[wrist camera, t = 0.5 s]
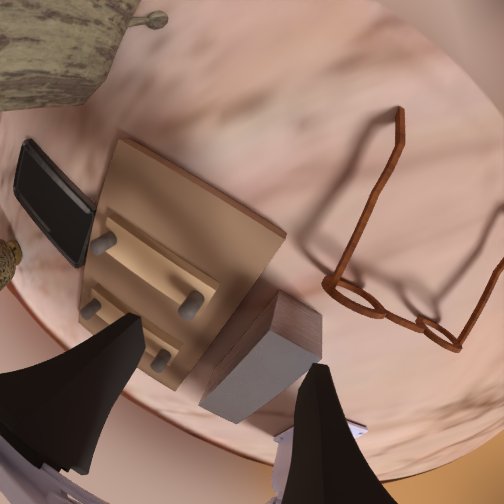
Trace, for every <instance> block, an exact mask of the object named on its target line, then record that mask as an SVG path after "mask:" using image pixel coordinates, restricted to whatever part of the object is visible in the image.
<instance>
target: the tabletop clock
mask: <svg viewBox="0 0 504 504" xmlns="http://www.w3.org/2000/svg"><path fill="white" fill-rule="evenodd" d="M140 1H141V0H0V112H3V111H11V110H21V109H31V108H43V107H62V106H77V105H83V104H84V103H85V102H86V100H87V99H88V98H89V97H90V96H91V95H92V94H93V93H94V92H95V91H96V90H97V89H98V88H99V87H100V85H101V84H102V83H103V82H104V81H105V80H106V78H107V76H108V73H109V70H110V67H111V64H112V62H113V59H114V57H115V54H116V52H117V49H118V47H119V44H120V42H121V40H122V37H123V35H124V33H125V31H126V28H127V27H131V26H136V25H142V24H147V25H148V27H149V28H152V29H155V30H156V29H160V28H163V27H164V26H165V25H166V24H167V22H168V16H167V14H166V13H164V12H162V11H156V12H153V13H151V14H150V15H149V16H148V17H132V16H133V14H134V12H135V10H136V8H137V6H138V4H139V2H140Z"/></svg>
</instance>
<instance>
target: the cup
mask: <svg viewBox="0 0 504 504" xmlns="http://www.w3.org/2000/svg"><path fill="white" fill-rule="evenodd" d="M21 261H22V253H21V250H20V247H19V245H18V244H17V243H16V242H15V241H13V240H10V241H8V243H7V242H5V241H4V240H2V239H0V291H1V290H2V289H3V288H4V287H5V286H6V285H7V284H8V283H9V282H10V281H11V279H12V278H13V276H14V274H15V270H16V266H17V265H19V264H20V263H21Z"/></svg>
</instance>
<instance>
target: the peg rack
mask: <svg viewBox="0 0 504 504" xmlns="http://www.w3.org/2000/svg"><path fill="white" fill-rule="evenodd" d="M286 235H287V233H285V232H284V231H282V230H281V229H279V228H277V227H276V226H274V225H273V224H271V223H270V222H268V221H266V220H265V219H263V218H262V217H260V216H259V215H257V214H255V213H254V212H252V211H251V210H249V209H247V208H246V207H244V206H243V205H241V204H239V203H238V202H236V201H234V200H233V199H231V198H230V197H228V196H226V195H225V194H223V193H221V192H220V191H218V190H217V189H215V188H213V187H212V186H210V185H208V184H207V183H205V182H203V181H202V180H200V179H198V178H197V177H195V176H193V175H192V174H190V173H188V172H186V171H185V170H183V169H181V168H180V167H178V166H176V165H174V164H173V163H171V162H169V161H168V160H166V159H164V158H162V157H161V156H159V155H157V154H155V153H154V152H152V151H150V150H148V149H147V148H145V147H143V146H141V145H140V144H138V143H136V142H134V141H132V140H131V139H129V138H125V139H119V140H118V143H117V145H116V148H115V151H114V154H113V157H112V160H111V163H110V166H109V169H108V172H107V175H106V178H105V182H104V185H103V188H102V192H101V195H100V199H99V203H98V207H97V211H96V215H95V219H94V223H93V227H92V232H91V237H90V241H89V246H88V252H87V257H86V263H85V269H84V276H83V283H82V291H81V299H80V309H79V321H78V322H79V323H80V324H81V325H82V326H83V327H85V328H86V329H87V330H88V331H89V332H91V333H92V334H93V335H95V334H97V333H98V332H100V331H101V330H103V329H104V328H106V327H107V326H109V325H110V324H112V323H113V322H115V321H116V320H118V319H119V318H121V317H122V316H124V315H125V314H127V313H128V312H130V313H133V314H136V315H138V316H141V320H142V326H143V333H144V339H145V345H146V349H145V351H144V353H143V355H142V358H141V360H140V362H139V364H138V366H137V368H139V369H140V370H142V371H143V372H145V373H146V374H148V375H149V376H151V377H152V378H154V379H155V380H157V381H158V382H160V383H162V384H163V385H165V386H167V387H168V388H170V389H171V390H173V391H176V390H177V388H178V387H179V386H180V384H181V383H182V382H183V380H184V379H185V378H186V376H187V375H188V374H189V372H190V371H191V370H192V368H193V367H194V366H195V364H196V363H197V362H198V360H199V359H200V357H201V356H202V355H203V353H204V352H205V351H206V349H207V348H208V347H209V345H210V344H211V343H212V341H213V340H214V339H215V337H216V336H217V334H218V333H219V332H220V330H221V329H222V328H223V326H224V325H225V323H226V322H227V321H228V319H229V318H230V317H231V315H232V314H233V312H234V311H235V310H236V308H237V307H238V305H239V304H240V303H241V301H242V300H243V299H244V297H245V296H246V294H247V293H248V292H249V290H250V289H251V287H252V286H253V285H254V283H255V282H256V280H257V279H258V278H259V276H260V275H261V273H262V272H263V270H264V269H265V268H266V266H267V265H268V263H269V262H270V261H271V259H272V258H273V256H274V255H275V253H276V252H277V251H278V249H279V248H280V246H281V245H282V243H283V242H284V241H285V238H286Z"/></svg>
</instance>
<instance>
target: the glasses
mask: <svg viewBox="0 0 504 504" xmlns="http://www.w3.org/2000/svg"><path fill="white" fill-rule="evenodd" d="M404 146H405V111H404V109H403V108H402V107H399V108H398V111H397V114H396V117H395V147H394V149H393V151H392V154H391V156H390V158H389V160H388V162H387V165H386V167H385V169H384V171H383V172H382V174H381V176H380V178H379V179H378V181H377V183H376V185H375V186H374V188H373V190H372V191H371V194H370V196H369V198H368V201H367V203H366V205H365V208H364V210H363V212H362V215H361V217H360V219H359V221H358V223H357V226H356V228H355V230H354V232H353V234H352V237H351V239H350V241H349V243H348V245H347V247H346V249H345V251H344V253H343V255H342V257H341V259H340V261H339V264H338V266H337V268H336V270H335V271H334V273H333V275H332V276H325V277H324V279H323V281H322V283H321V284H322V287H323V289H324V290H325V291H326V292H327V293H328V294H329V295H330V296H331V297H332V298H333V299H335V300H336V301H337V302H339V303H340V304H342V305H344V306H345V307H347V308H349V309H351V310H353V311H355V312H357V313H359V314H362V315H364V316H367V317H370V318H374V319H383V318H384V317H386V318H387V319H389V320H391V321H392V322H394V323H396V324H399V325H401V326H403V327H406V328H408V329H410V330H413V331H415V332H418V333H424V334H425V335H426V336H427V337H428V338H429V339H431V340H432V341H434V342H435V343H437V344H438V345H440V346H441V347H443V348H445V349H447V350H449V351H452V352H455V353H459V352H460V351H461V349H462V344H463V343H464V341H465V339H466V338H467V336H468V335H469V333H470V331H471V330H472V328H473V326H474V324H475V323H476V321H477V319H478V317H479V316H480V314H481V312H482V310H483V308H484V306H485V304H486V303H487V301H488V299H489V297H490V295H491V293H492V290H493V288H494V286H495V284H496V282H497V280H498V277H499V275H500V274H501V272H502V271H503V270H504V257H503V259H502V260H501V261H500V263H499V264H498V265H497V267H496V268H495V269H494V271H493V273H492V275H491V277H490V280H489V282H488V284H487V286H486V288H485V290H484V292H483V294H482V296H481V298H480V300H479V302H478V304H477V306H476V308H475V310H474V311H473V313H472V315H471V317H470V318H469V320H468V322H467V324H466V325H465V327H464V329H463V330H462V332H461V334H460V335H459V337H458V338H457V339H456V338H455V337H454V336H453V335H452V334H451V333H450V332H449V331H447V330H446V329H445V328H443V327H442V326H440V325H439V324H437V323H435V322H433V321H431V320H429V319H426V318H424V317H422V316H418V317H417V319H416V321H415V322H416V324H415V323H413V322H411V321H408V320H406V319H404V318H402V317H399V316H397V315H395V314H393V313H391V312H389V311H388V310H386V309H385V308H384V307H383V306H382V305H381V304H380V303H379V301H377V300H376V299H375V298H374V297H373V296H372V295H370V294H369V293H367V292H366V291H364V290H362V289H361V288H359V287H357V286H354V285H352V284H350V283H348V282H346V281H343V280H341V279H340V278H341V276H342V274H343V272H344V270H345V268H346V266H347V264H348V262H349V260H350V258H351V256H352V254H353V252H354V250H355V248H356V246H357V244H358V241H359V239H360V237H361V235H362V233H363V231H364V229H365V226H366V224H367V222H368V220H369V217H370V215H371V213H372V211H373V208H374V206H375V204H376V201H377V199H378V196H379V194H380V193H381V191H382V189H383V188H384V186H385V184H386V183H387V181H388V179H389V177H390V176H391V174H392V172H393V170H394V168H395V166H396V164H397V162H398V159H399V157H400V155H401V153H402V150H403V148H404ZM337 285H338V286H341V287H344V288H346V289H348V290H351V291H353V292H354V293H356V294H358V295H360V296H361V297H363V298H364V299H366V300H367V301H368V302H369V303H370V304H371V305H372V306H373V307H374V308H375V309H371V308H368V307H365V306H362V305H360V304H358V303H356V302H354V301H352V300H350V299H349V298H347V297H345V296H344V295H342V294H341V293H340V292H338V291H337V290H336V289H335V287H336V286H337ZM425 324H426V325H429V326H431V327H433V328H435V329H436V330H438V331H439V332H441V333H442V334H444V335H445V336H446V337H447V338H448V339H449V340H450V341H451V342H452V343H453V344H454V345H453V344H451V343H449V342H447V341H445V340H443V339H441V338H440V337H438V336H437V335H436V334H434V333H433V332H432V331H431V330H429V329H428V328H427V326H426V325H425Z"/></svg>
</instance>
